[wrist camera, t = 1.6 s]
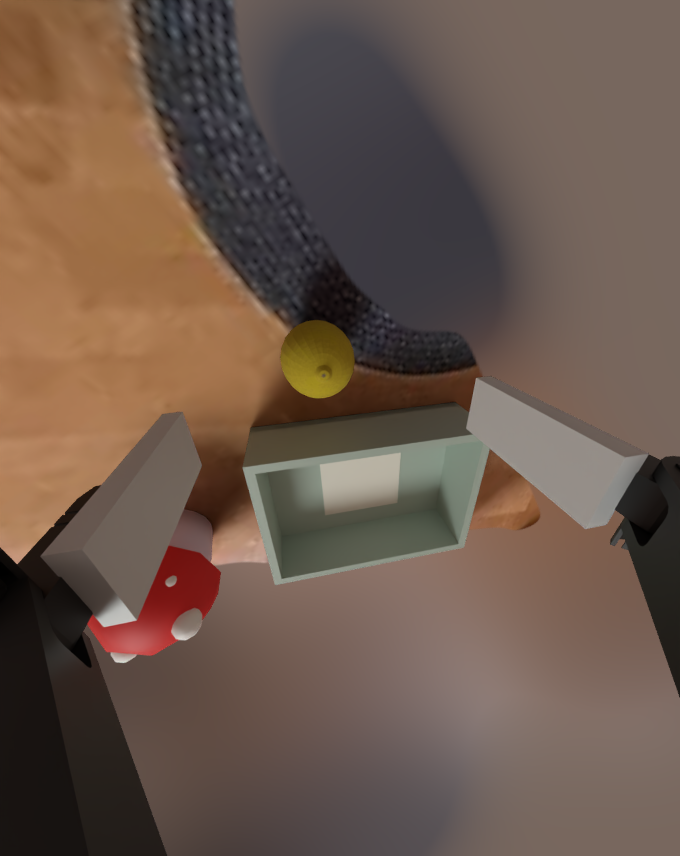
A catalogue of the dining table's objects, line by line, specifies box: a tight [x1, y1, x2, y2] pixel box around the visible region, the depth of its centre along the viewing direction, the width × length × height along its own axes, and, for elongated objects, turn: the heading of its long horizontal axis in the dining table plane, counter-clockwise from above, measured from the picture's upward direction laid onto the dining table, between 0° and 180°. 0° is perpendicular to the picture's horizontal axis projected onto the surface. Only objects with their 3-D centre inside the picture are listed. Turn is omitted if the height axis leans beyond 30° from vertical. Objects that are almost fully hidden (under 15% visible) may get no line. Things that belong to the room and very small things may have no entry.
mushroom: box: [87, 509, 221, 663], centre depth 27 cm, size 11×11×12 cm
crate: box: [243, 402, 490, 585], centre depth 30 cm, size 16×22×6 cm
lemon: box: [280, 320, 355, 398], centre depth 21 cm, size 6×6×8 cm
